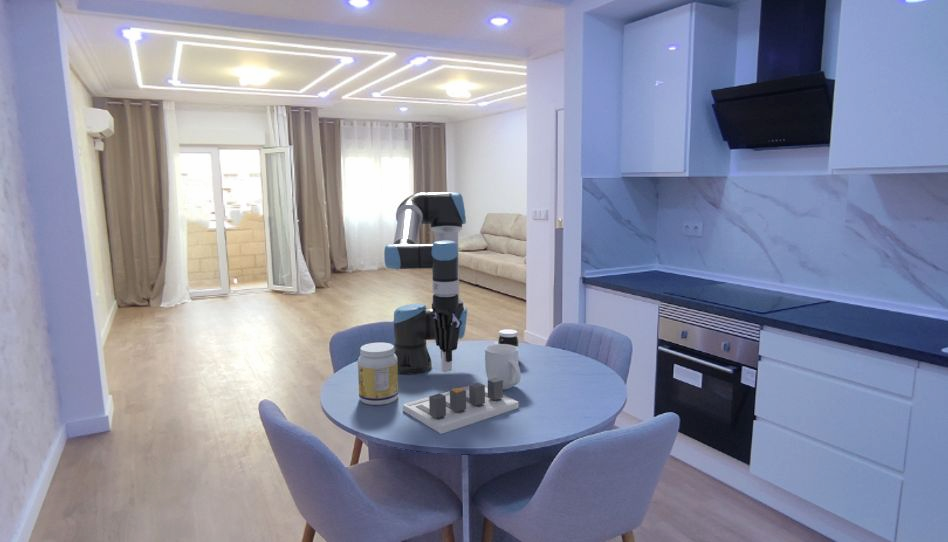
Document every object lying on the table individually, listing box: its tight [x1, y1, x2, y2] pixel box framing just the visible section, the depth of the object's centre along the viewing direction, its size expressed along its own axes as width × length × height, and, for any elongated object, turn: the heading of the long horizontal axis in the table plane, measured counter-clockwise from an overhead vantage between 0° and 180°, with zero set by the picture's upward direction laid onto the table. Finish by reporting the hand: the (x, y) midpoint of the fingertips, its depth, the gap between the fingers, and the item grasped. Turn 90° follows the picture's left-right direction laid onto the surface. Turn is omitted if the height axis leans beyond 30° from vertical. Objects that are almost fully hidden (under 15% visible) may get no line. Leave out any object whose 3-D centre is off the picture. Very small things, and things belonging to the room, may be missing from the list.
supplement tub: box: [357, 342, 399, 406], centre depth 171 cm, size 12×12×17 cm
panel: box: [402, 385, 519, 435], centre depth 163 cm, size 20×28×2 cm
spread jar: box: [492, 329, 519, 349], centre depth 210 cm, size 12×11×12 cm
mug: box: [484, 343, 522, 391], centre depth 180 cm, size 15×11×13 cm
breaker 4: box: [487, 377, 504, 400], centre depth 166 cm, size 3×4×6 cm
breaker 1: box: [429, 392, 446, 418], centre depth 153 cm, size 3×4×6 cm
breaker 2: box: [449, 387, 466, 412], centre depth 157 cm, size 3×4×6 cm
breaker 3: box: [468, 382, 486, 406], centre depth 162 cm, size 3×4×6 cm
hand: (446, 370), depth 165 cm, fingers closed
